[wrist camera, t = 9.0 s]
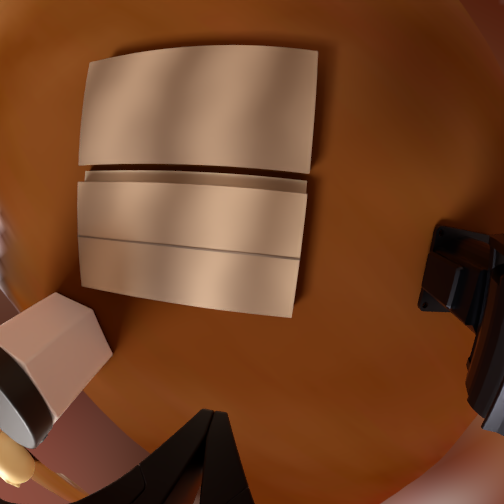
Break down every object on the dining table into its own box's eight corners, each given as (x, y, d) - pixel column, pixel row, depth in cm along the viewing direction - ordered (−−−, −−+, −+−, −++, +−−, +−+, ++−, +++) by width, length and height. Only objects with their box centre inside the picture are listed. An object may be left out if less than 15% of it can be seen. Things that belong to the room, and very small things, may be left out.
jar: (46, 349, 24) (-22, 409, 12) (41, 281, 22) (-52, 333, 10) (113, 384, 24) (52, 469, 12) (115, 316, 22) (23, 402, 10)
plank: (315, 57, 15) (318, 51, 14) (307, 173, 18) (309, 173, 17) (98, 66, 16) (89, 62, 15) (87, 164, 19) (78, 165, 17)
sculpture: (-3, 427, 34) (-27, 453, 23) (7, 422, 31) (-21, 452, 21) (31, 464, 36) (11, 491, 25) (47, 464, 33) (24, 496, 23)
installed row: (306, 181, 18) (308, 180, 17) (290, 308, 20) (291, 318, 19) (89, 171, 19) (78, 171, 18) (91, 280, 21) (81, 286, 20)
